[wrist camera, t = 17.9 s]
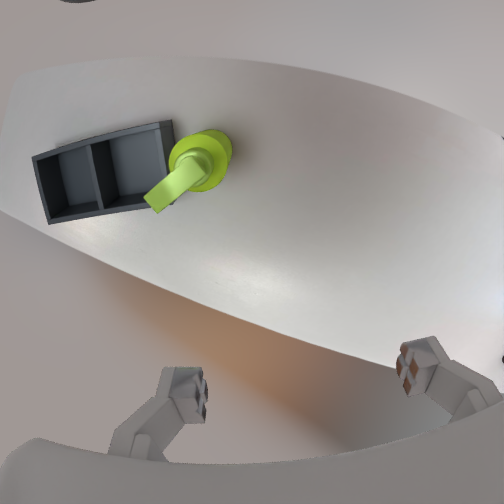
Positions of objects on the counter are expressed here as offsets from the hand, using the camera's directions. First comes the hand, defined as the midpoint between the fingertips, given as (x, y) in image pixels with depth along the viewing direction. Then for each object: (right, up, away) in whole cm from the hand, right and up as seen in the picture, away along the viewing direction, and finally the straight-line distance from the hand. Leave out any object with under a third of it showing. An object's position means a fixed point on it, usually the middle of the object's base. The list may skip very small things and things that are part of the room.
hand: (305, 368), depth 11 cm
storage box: (-23, +17, +30) cm, 42 cm away
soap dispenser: (-8, +18, +30) cm, 36 cm away
